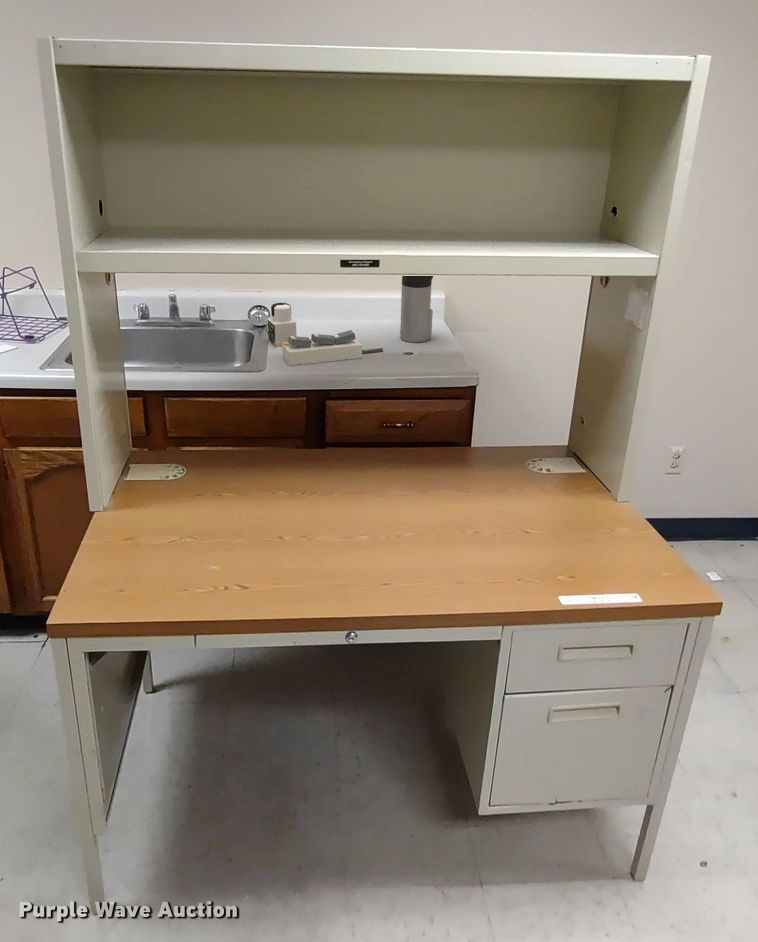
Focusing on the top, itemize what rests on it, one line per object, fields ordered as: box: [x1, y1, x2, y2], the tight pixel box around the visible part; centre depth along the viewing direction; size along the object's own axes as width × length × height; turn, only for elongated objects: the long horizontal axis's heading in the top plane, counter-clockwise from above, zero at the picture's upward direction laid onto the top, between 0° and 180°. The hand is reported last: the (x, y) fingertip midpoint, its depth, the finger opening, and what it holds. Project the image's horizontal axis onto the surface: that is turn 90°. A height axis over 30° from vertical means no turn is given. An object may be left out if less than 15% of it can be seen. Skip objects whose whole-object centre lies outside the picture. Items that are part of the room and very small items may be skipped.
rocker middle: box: [310, 333, 335, 345], centre depth 221 cm, size 6×4×2 cm, turn 111°
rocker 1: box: [288, 335, 312, 347], centre depth 219 cm, size 6×4×2 cm, turn 111°
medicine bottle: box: [267, 302, 298, 347], centre depth 233 cm, size 7×7×12 cm
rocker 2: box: [331, 329, 357, 344], centre depth 223 cm, size 6×4×2 cm, turn 110°
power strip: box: [281, 339, 384, 366], centre depth 224 cm, size 30×8×5 cm, turn 111°
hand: (295, 263), depth 213 cm, fingers open, 8 cm apart
